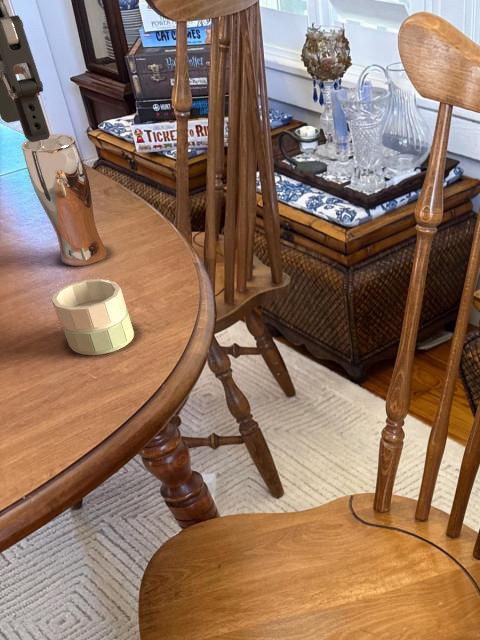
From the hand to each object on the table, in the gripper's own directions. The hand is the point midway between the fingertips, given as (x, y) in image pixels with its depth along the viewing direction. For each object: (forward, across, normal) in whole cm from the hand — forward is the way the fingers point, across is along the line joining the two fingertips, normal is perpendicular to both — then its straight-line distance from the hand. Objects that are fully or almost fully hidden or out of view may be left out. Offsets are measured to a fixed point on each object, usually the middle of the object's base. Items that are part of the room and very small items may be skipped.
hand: (26, 129), depth 79 cm
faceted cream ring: (+19, -3, 0) cm, 20 cm away
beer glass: (+22, +21, -6) cm, 31 cm away
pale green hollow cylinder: (+22, -3, 0) cm, 22 cm away
